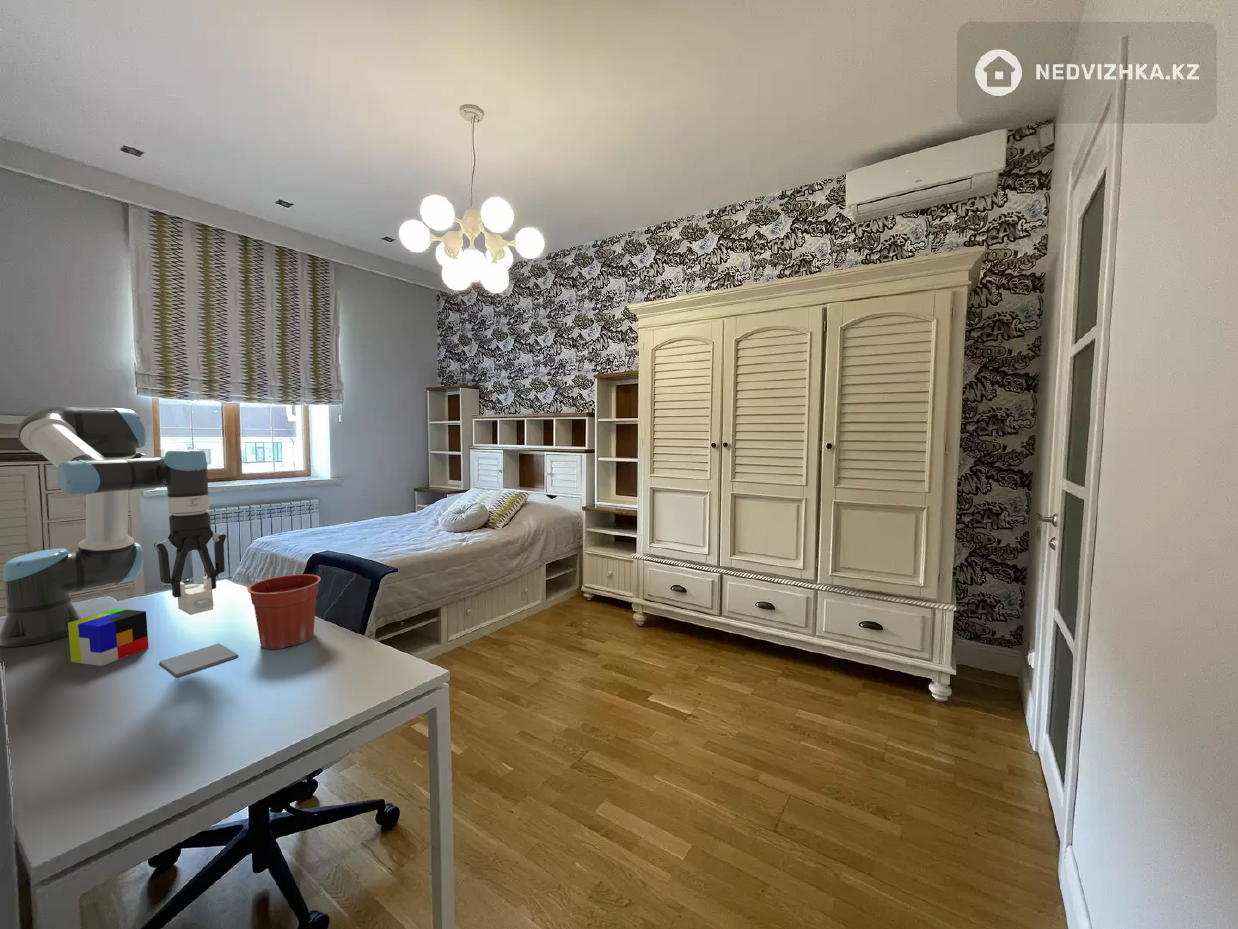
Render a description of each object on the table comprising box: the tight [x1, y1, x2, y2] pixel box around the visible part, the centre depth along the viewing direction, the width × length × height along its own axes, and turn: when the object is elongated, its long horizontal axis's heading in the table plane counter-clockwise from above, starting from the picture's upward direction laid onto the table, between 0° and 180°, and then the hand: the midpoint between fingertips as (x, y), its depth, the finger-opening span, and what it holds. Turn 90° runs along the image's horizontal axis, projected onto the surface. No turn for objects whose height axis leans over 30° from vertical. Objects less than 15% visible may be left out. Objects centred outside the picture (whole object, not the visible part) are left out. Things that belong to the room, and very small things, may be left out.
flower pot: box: [246, 573, 321, 650], centre depth 133 cm, size 16×16×16 cm
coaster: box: [158, 643, 239, 678], centre depth 122 cm, size 12×12×1 cm
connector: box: [177, 583, 214, 616], centre depth 120 cm, size 13×4×5 cm, turn 57°
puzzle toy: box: [68, 608, 150, 667], centre depth 124 cm, size 10×10×10 cm
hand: (195, 605), depth 121 cm, fingers closed on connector, 4 cm apart
